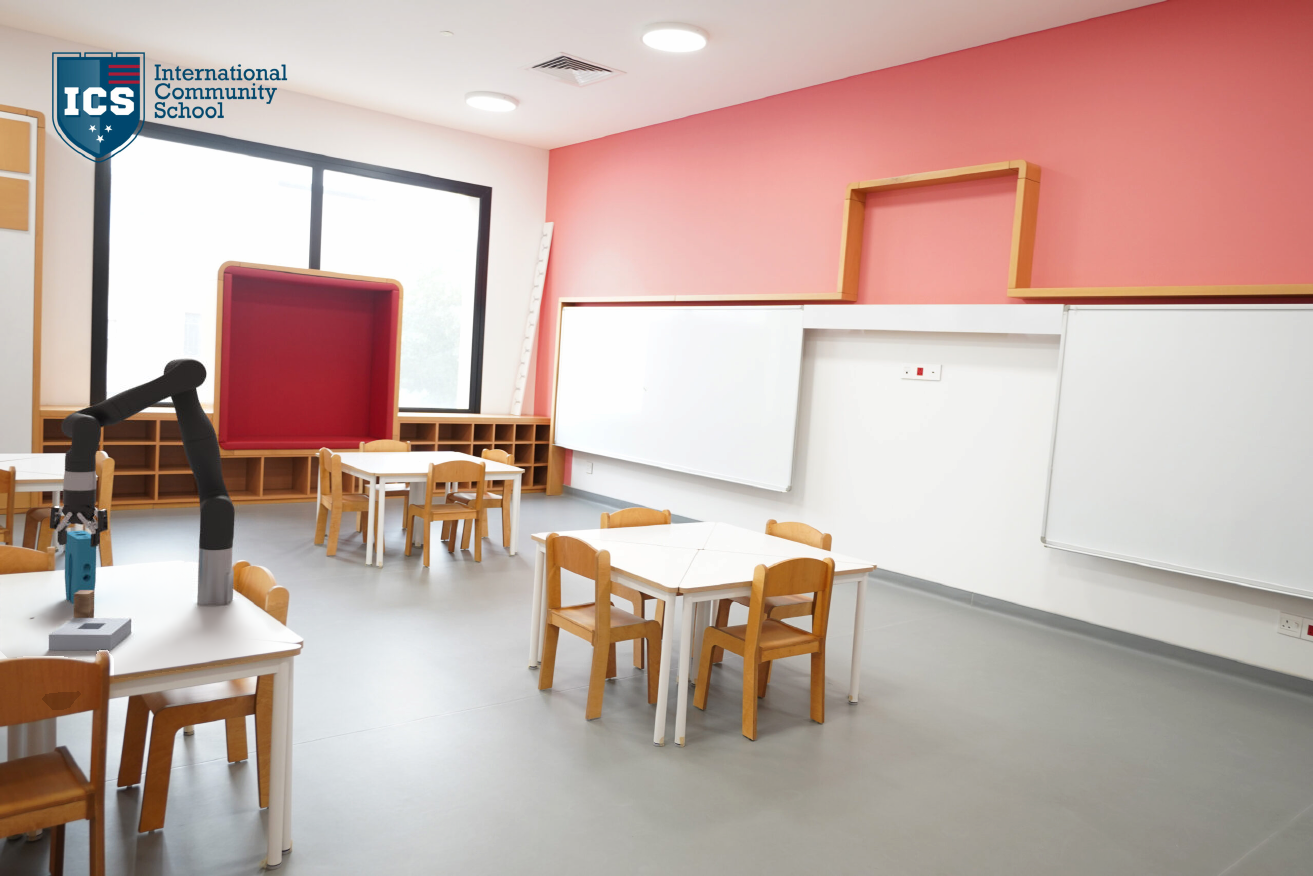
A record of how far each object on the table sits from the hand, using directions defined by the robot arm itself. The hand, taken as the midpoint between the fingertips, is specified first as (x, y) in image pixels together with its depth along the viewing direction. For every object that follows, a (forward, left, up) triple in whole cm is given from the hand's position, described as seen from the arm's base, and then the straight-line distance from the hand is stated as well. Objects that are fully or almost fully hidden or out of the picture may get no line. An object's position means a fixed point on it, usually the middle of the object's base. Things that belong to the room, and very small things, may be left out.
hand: (78, 545), depth 237 cm
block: (+8, -22, -22) cm, 32 cm away
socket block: (-9, +16, -22) cm, 28 cm away
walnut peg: (-3, +4, -22) cm, 22 cm away
